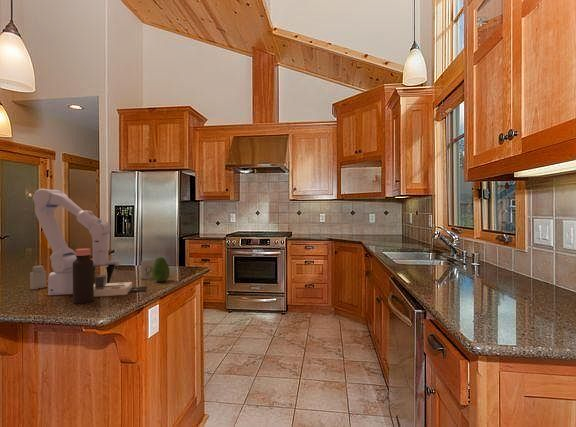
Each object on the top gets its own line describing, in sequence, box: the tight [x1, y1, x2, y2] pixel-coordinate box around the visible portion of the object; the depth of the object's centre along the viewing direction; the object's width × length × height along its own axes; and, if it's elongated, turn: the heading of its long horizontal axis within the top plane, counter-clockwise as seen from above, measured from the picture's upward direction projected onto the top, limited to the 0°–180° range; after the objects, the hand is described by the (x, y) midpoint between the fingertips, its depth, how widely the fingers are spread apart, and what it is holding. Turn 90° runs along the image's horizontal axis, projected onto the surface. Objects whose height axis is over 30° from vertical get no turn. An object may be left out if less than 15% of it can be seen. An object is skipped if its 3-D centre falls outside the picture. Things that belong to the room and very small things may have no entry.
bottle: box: [72, 247, 95, 305], centre depth 124 cm, size 7×7×20 cm
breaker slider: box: [94, 274, 107, 287], centre depth 137 cm, size 3×4×4 cm
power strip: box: [94, 281, 148, 298], centre depth 139 cm, size 22×12×3 cm, turn 105°
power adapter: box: [29, 261, 47, 290], centre depth 145 cm, size 3×5×12 cm, turn 162°
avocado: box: [152, 256, 171, 283], centre depth 158 cm, size 8×8×12 cm
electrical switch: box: [140, 259, 156, 280], centre depth 167 cm, size 9×5×9 cm, turn 116°
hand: (100, 283), depth 137 cm, fingers open, 5 cm apart
